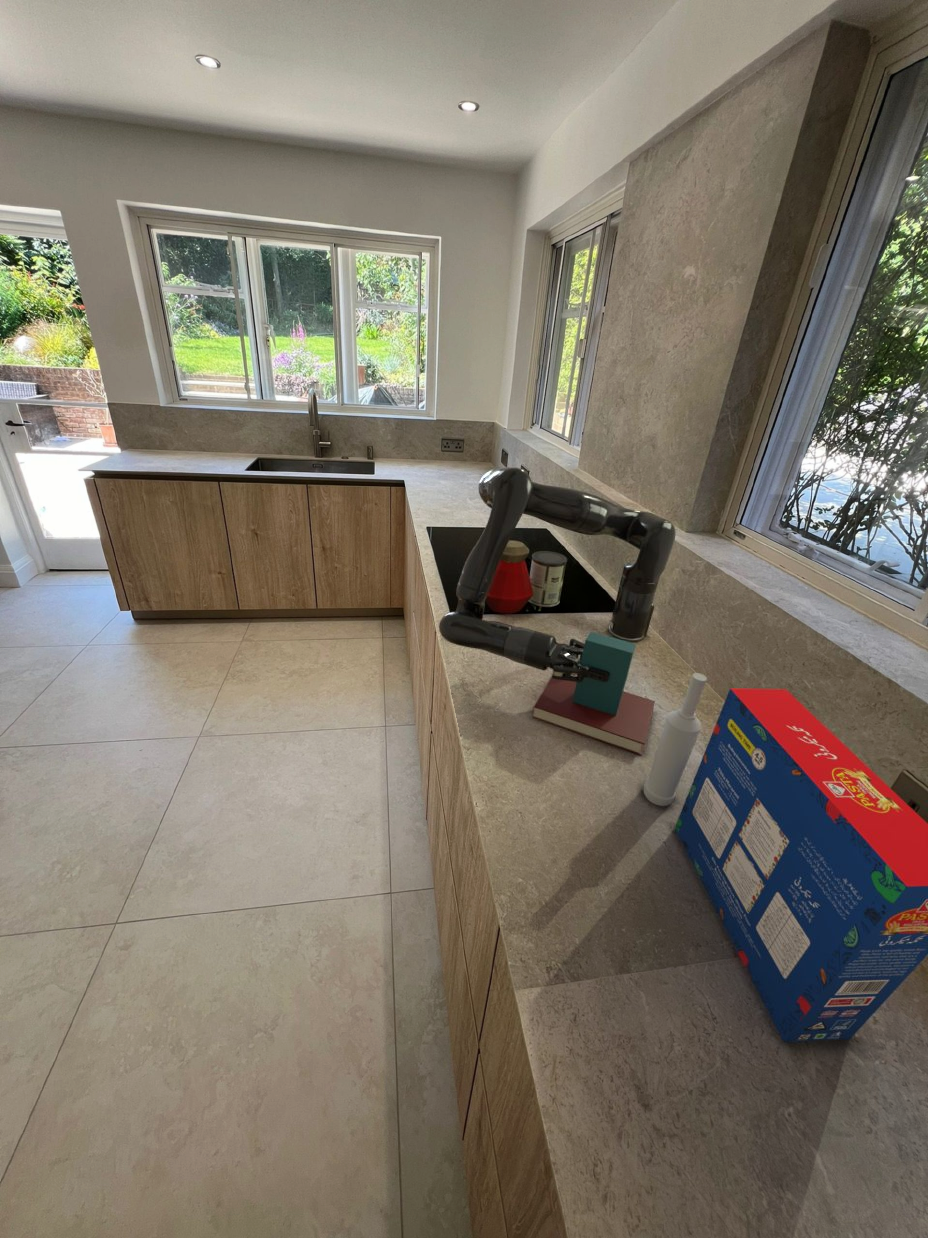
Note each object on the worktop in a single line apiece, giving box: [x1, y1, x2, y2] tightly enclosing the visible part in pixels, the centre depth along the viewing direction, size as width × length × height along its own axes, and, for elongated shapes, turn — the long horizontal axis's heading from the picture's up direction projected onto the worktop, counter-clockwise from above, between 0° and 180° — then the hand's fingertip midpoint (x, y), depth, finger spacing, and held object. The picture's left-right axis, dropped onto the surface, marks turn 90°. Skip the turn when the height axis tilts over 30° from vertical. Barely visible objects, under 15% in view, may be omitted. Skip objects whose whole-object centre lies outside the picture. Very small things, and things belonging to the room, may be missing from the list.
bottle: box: [643, 672, 708, 807], centre depth 80 cm, size 5×5×25 cm
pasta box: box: [674, 687, 928, 1043], centre depth 61 cm, size 28×8×28 cm, turn 4°
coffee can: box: [528, 550, 568, 608], centre depth 149 cm, size 10×10×14 cm
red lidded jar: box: [485, 540, 533, 615], centre depth 141 cm, size 16×14×20 cm
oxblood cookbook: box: [532, 676, 656, 756], centre depth 103 cm, size 22×15×3 cm
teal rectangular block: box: [573, 631, 637, 716], centre depth 99 cm, size 9×4×15 cm, turn 64°
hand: (610, 671), depth 98 cm, fingers closed on teal rectangular block, 4 cm apart
